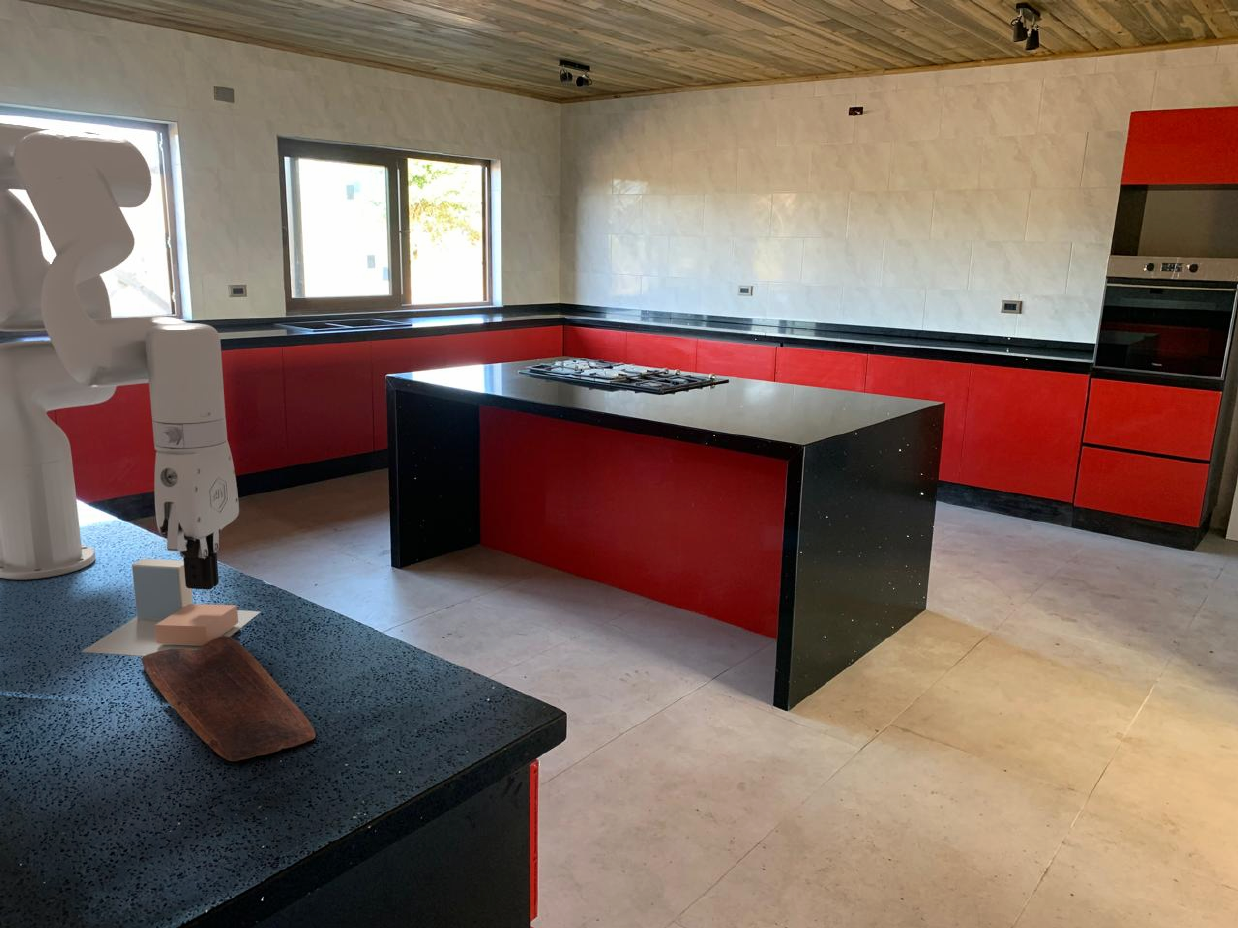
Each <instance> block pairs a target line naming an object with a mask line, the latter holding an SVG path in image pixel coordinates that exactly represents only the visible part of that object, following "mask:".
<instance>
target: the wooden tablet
mask: <svg viewBox="0 0 1238 928" xmlns="http://www.w3.org/2000/svg"><path fill="white" fill-rule="evenodd" d="M140 661H141V663H142V666H143V668H144V670H145V672H146V674H147V675H148V677H149V679H150V680H151V682H152V683H153V685H154V687H156V689H157V690H158V691H159V692H160V694H161V695H162V696H163V697H164V699H165V700H166V702H168V704H170V706H172V708H173V709H174V710H175V711H176V712H177V713H178V714H179V716H180V717H181V718H182V720H184V722H185V723H186V724H187V725H188V726H189V727H190V728H191V729H192V730H193V731H194V732H195V734H197V736H199V737H200V739H201V740H202V741H203V742H204V743H205V744H207V745H208V747H209V748H211V749H212V750H213V751H214V752H215V753H216V754H217V755H218V756H220V757H222V758H224V759H225V760H227V761H231V762H237V761H241V760H246V759H251V758H254V757H256V756H264V755H268V754H273V753H276V752H279V751H281V750H282V749H290V748H293V747H297V746H300V745H303V744H306V743H308V742H309V741H312V740H314V739H316V737H317V735H316V731H315V729H314V728H313V726H312V724H311V722H310V721H309V719H308V718H307V717H306V715H305V714H304V713H303V711H302V710H300V709H299V708H298V706H297V705H296V704H295V703H294V702H293V701H292V700H291V698H289V696H288V695H287V694H286V693H285V692H284V691H283V689H282V688H281V687H280V686H279V685H278V683H276V681H275V680H274V679H273V677H272V676H271V675H270V674H269V672H268V671H267V670H266V669H265V668H264V667H263V666H262V664H261V663H260V662H259V661H258V659H256V658H255V657H254V656H253V655H252V654H251V653H250V652H249V651H248V650H247V649H246V648H245V647H244V645H242V644H241V643H240V642H239V641H238V640H236V639H235V638H233V637H232V636H230V637H228V636H222V637H218V638H216V639H213V640H211V641H209V642H207V643H206V644H204V645H203V646H201V647H200V648H198V649H196V650H191V649H168V650H163V651H158V652H154V653H151V654H148V655H146V656H142V658H141V660H140Z"/></svg>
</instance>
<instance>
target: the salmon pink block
mask: <svg viewBox="0 0 1238 928" xmlns="http://www.w3.org/2000/svg"><path fill="white" fill-rule="evenodd" d="M237 610H238V605H235V604H233V605H231V604H201V603H200V604H198V603H193V604H189V605H187V606H185V607H184V608H182V609H180V610H179V611H177V612H175V613H174V614H172V615H171V616H169V617H167V618H166V619H164V620H162V621H161V622H159V623H157V624H156V625H155V630H156V639H157V643H160V644H165V645H195V646H203V645H204V644H206V643H207V642H209V641H211V640H213V639H216V638H218V637H220V636H221V635H223V634H224V633H225V632H227V631H228V630H230V629H231V628H232V627H234V626H235V625H236V624H237V623H238V613H237Z"/></svg>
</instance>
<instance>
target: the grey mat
mask: <svg viewBox="0 0 1238 928" xmlns="http://www.w3.org/2000/svg"><path fill="white" fill-rule="evenodd" d="M237 613H238V623H237V624H236V625H235V626H234V627H232V628H231V629H230V630H228V631H227V632H225V633H224V634H223V635H221V636H220V637H222V636H228V637H232V636H233V635H234V634H235V633H237V632H238V631H239V630H241V629H242V628H243V627H245V625H246V624H248V623H249V622H250V621H252V620H253V619H254V618H256V617H257V616H258V615H259V614H260V613H261V611H256V610H241V609H237ZM161 621H162V620H147V619H137V616H135V617H134V618H132V619H130V620H129V621H127V622H125V623H123V624H122V625H121V626H119V627H118V628H116V629H114V630H113V631H112V632H110V633H108V634H107V635H104V637H102V638H101V639H99V640H97V641H96V642H94V643H93V644H91V645H89V646H88V647H86V648H85V649H83V650H81V653H90V654H91V653H92V654H104V655H105V654H107V655H108V654H109V655H117V656H118V655H120V656H131V657H132V656H134V657H143V656H146V655H148V654H151V653H154V652H158V651H163V650H168V649H191V650H196V649H198V648H200V647H201V646H195V645H165V644H160V643H157V639H156V630H155V625H156V624H157V623H159V622H161Z"/></svg>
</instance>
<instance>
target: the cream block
mask: <svg viewBox="0 0 1238 928" xmlns="http://www.w3.org/2000/svg"><path fill="white" fill-rule="evenodd" d="M131 571H132V580H133V581H132V582H133V591H134V601H135V611H136V617H137V619H147V620H164V619H166V618H167V617H169V616H171V615H172V614H174V613H175V612H177V611H179V610H180V609H182V608H184V607H185V606H187V605H189V604H194V600H193V589H192V588H187V587H186V584H185V572H184V560H176V559H175V560H169V559H156V558H155V559H154V558H142V559H139V560H138V561H136V562H133V563H132V564H131Z"/></svg>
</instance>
